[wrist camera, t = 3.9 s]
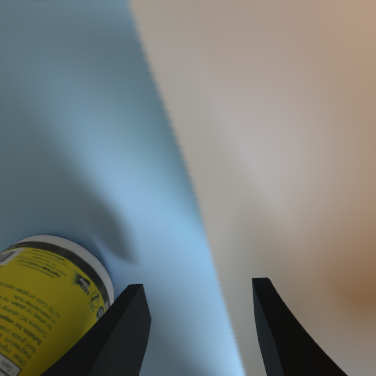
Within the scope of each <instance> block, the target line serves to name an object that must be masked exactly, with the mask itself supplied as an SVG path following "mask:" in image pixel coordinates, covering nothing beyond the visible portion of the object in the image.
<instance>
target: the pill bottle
mask: <svg viewBox="0 0 376 376" xmlns="http://www.w3.org/2000/svg"><path fill="white" fill-rule="evenodd" d="M113 302H114V289H113V285H112V281H111V279H110V277H109V275H108V273H107V271H106V270H105V268H104V267H103V265H102V264H101V263H100V262H99V260H98V259H97V258H96V257H94V256H93V255H92V254H91V253H90V252H88V251H87V250H86V249H84V248H83V247H81V246H80V245H78V244H76V243H74V242H72V241H69V240H67V239H64V238H61V237H57V236H51V235H36V236H31V237H28V238H25V239H22V240H20V241H18V242H16V243H14V244H13V245H11V246H10V247H9V248H7V249H6V250H4V251H3V252H1V253H0V376H40V375H41V374H42V373H44V372H45V371H46V370H47V369H48V368H50V367H51V366H52V365H53V364H54V363H55V362H56V361H58V360H59V359H60V358H61V357H62V356H63V355H64V354H65V353H66V352H67V351H68V350H70V349H71V348H72V347H73V346H74V345H75V344H76V343H77V342H78V341H79V340H80V339H81V338H82V337H83V336H84V334H85V333H86V332H87V331H88V330H89V329H90V328H91V327H92V326H93V325H94V324H95V323H96V322H97V321H98V320H99V318H100V317H101V316H102V315H103V314H104V313H105V312H106V311H107V310H108V308H109V307H110V306H111V305H112V304H113Z"/></svg>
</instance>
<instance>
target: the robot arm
mask: <svg viewBox="0 0 376 376" xmlns="http://www.w3.org/2000/svg"><path fill="white" fill-rule="evenodd" d="M252 285H253V301H254V316H255V323H256V329H257V335H258V342H259V346H260V350H261V353H262V358H263V361H264V365H265V369H266V373H267V376H348V375H346V374H345V373H344V372H343V371H342V370H341V369H340V368H339V367H338V366H337V365H336V364H335V363H334V361H332V359H331V358H330V357H329V356H328V355H327V354H326V353H325V352H324V351H323V350H322V349H321V348H320V347H319V345H317V343H316V342H315V341H314V340H313V339H312V337H311V336H310V335H309V334H308V333H307V332H306V330H305V329H304V328H303V327H302V325H301V324H300V323H299V322H298V320H297V319H296V318H295V316H294V315H293V314H292V313H291V311H290V310H289V309H288V307H287V306H286V304H285V303H284V302H283V300H282V299H281V297H280V296H279V294H278V293H277V291H276V289H275V288H274V286H273V284H272V283H271V281H270V279H268V278H252ZM150 325H151V316H150V312H149V308H148V304H147V300H146V296H145V292H144V288H143V284H131V285H128V286H127V288H126V289H125V290H124V291H123V292H122V293H121V294H120V296H119V297H118V298H117V299H116V300H115V301H114V303H113V304H112V305H111V306H110V307H109V308H108V310H107V311H106V312H105V313H104V314H103V315H102V316H101V317H100V318H99V320H98V321H97V322H96V323H95V324H94V325H93V326H92V327H91V328H90V329H89V330H88V331H87V332H86V333H85V334H84V336H83V337H82V338H81V339H80V340H79V341H78V342H77V343H76V344H75V345H74V346H73V347H72V348H71V349H70V350H68V351H67V352H66V353H65V354H64V355H63V356H62V357H61V358H60V359H59V360H58V361H56V362H55V363H54V364H53V365H52V366H51V367H50V368H48V369H47V370H46V371H45V372H44V373H42V374H41V375H40V376H139V372H140V369H141V365H142V362H143V358H144V354H145V351H146V347H147V343H148V337H149V331H150Z"/></svg>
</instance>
